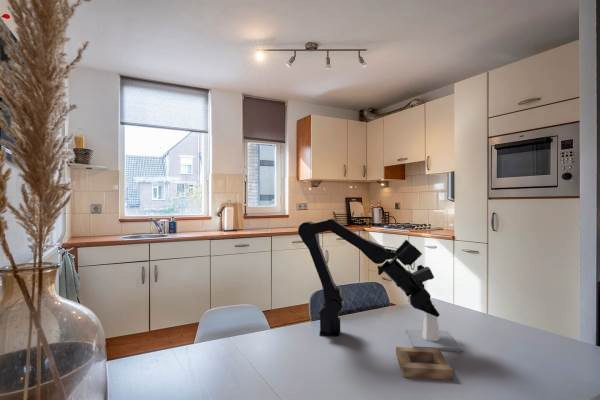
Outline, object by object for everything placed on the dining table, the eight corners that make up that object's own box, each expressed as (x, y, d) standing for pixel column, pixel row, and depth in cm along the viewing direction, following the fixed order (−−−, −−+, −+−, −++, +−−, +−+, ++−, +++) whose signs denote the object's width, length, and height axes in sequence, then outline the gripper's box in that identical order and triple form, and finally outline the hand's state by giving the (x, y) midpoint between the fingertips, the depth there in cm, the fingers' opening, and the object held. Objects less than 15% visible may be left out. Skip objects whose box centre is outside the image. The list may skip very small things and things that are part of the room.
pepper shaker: (437, 334, 108) (436, 301, 108) (442, 341, 102) (441, 306, 102) (420, 334, 108) (419, 301, 108) (424, 341, 103) (423, 306, 103)
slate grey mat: (413, 349, 99) (413, 346, 99) (405, 331, 113) (405, 329, 113) (462, 351, 97) (462, 348, 97) (447, 333, 111) (447, 330, 111)
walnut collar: (403, 376, 83) (403, 367, 83) (395, 355, 95) (395, 346, 95) (452, 380, 82) (452, 369, 82) (439, 357, 93) (439, 348, 94)
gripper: (421, 263, 97) (462, 303, 95) (414, 254, 116) (448, 287, 113) (394, 288, 99) (433, 328, 96) (391, 275, 117) (424, 308, 115)
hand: (435, 311), depth 105 cm, fingers open, 9 cm apart
